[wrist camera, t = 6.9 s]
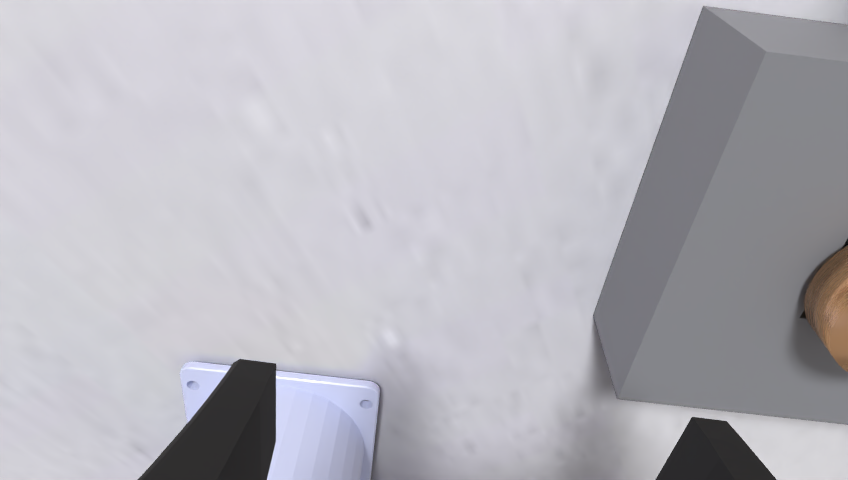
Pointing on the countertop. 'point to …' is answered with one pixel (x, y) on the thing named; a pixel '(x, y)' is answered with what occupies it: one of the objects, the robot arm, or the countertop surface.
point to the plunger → (830, 305)
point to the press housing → (736, 226)
